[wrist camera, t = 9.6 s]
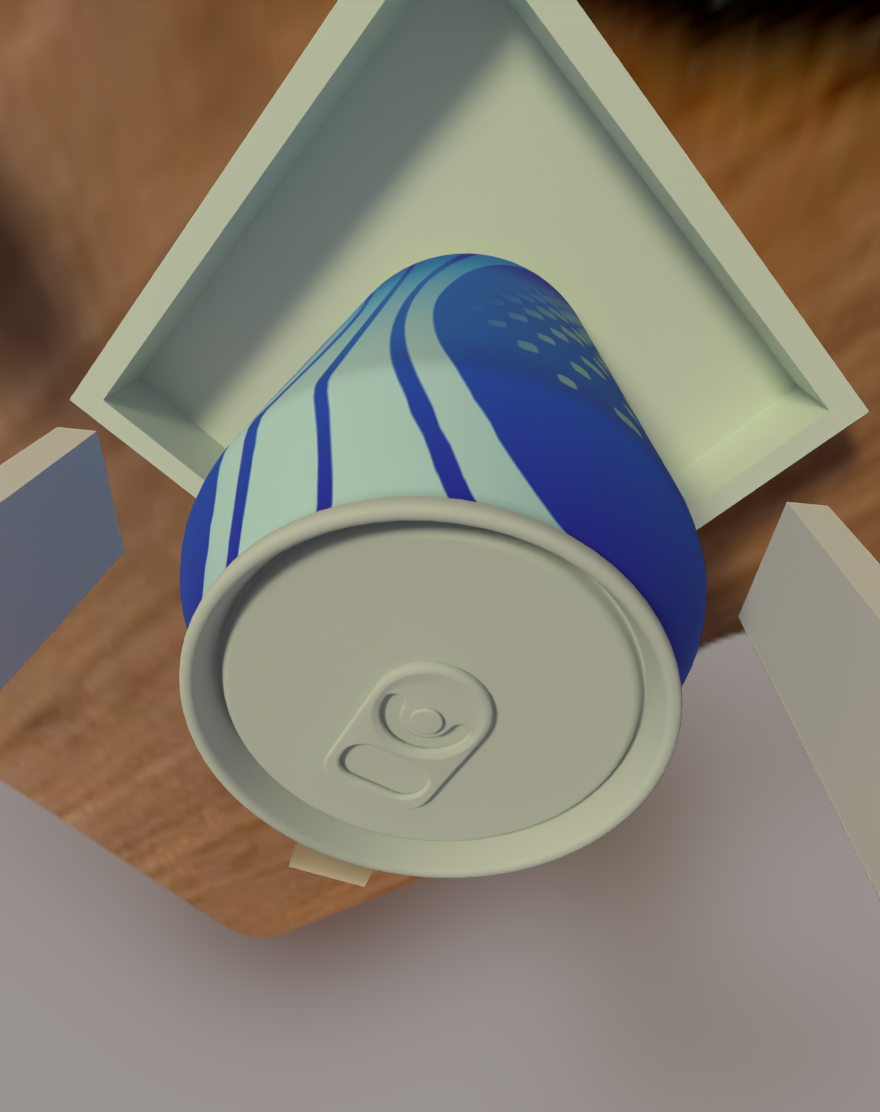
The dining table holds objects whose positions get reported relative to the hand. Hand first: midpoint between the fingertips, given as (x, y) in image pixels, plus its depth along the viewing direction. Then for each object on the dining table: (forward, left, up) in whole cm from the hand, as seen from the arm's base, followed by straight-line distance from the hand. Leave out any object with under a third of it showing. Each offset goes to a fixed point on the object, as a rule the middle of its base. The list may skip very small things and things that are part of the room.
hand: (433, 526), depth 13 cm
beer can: (0, 0, -11) cm, 11 cm away
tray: (0, 0, -12) cm, 12 cm away
